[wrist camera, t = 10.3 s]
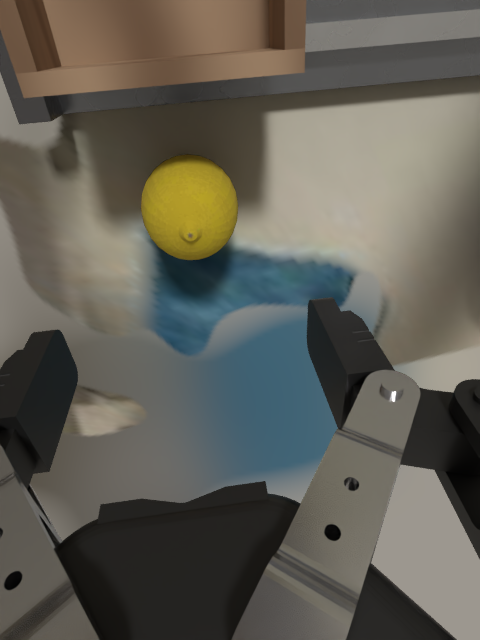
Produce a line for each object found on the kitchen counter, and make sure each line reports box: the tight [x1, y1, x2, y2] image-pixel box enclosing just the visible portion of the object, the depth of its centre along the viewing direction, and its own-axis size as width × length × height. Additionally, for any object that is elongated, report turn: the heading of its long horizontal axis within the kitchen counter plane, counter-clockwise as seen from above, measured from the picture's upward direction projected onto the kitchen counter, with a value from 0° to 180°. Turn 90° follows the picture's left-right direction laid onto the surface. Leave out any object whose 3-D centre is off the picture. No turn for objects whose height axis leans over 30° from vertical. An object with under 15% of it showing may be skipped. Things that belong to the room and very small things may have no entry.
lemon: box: [141, 154, 238, 260], centre depth 23 cm, size 6×6×8 cm
